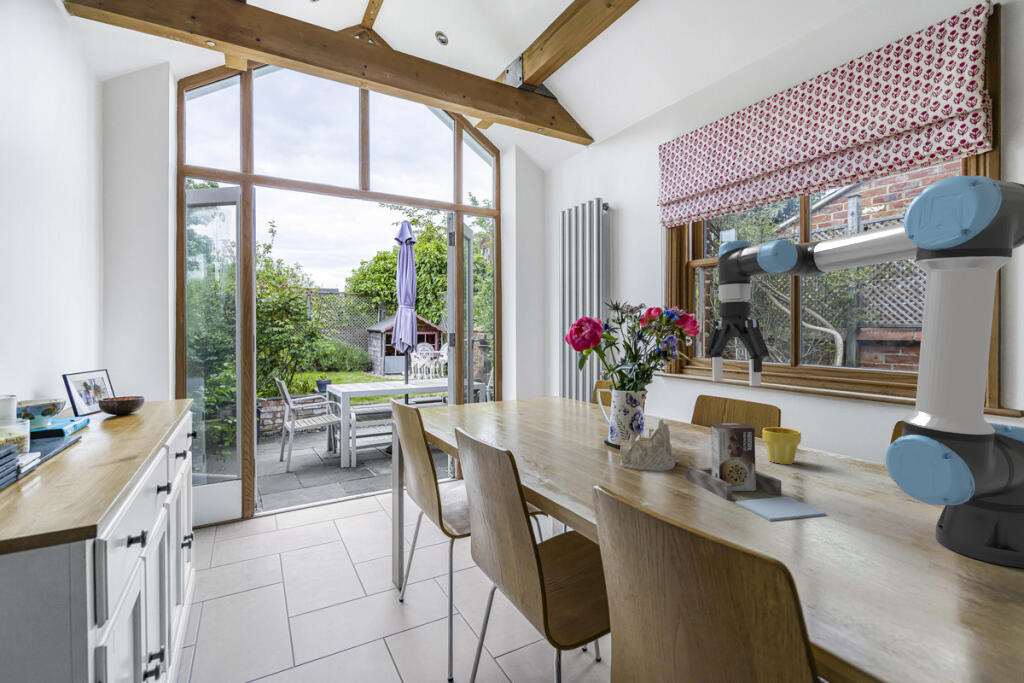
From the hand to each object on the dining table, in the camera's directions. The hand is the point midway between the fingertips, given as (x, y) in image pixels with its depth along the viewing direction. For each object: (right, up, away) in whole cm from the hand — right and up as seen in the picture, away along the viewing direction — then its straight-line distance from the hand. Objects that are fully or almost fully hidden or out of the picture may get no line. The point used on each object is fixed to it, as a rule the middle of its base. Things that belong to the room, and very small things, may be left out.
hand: (735, 383), depth 126 cm
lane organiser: (-1, -27, -2) cm, 27 cm away
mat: (+2, -27, -17) cm, 32 cm away
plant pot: (+24, -26, +22) cm, 42 cm away
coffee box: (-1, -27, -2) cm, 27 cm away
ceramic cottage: (-16, -27, +22) cm, 38 cm away
